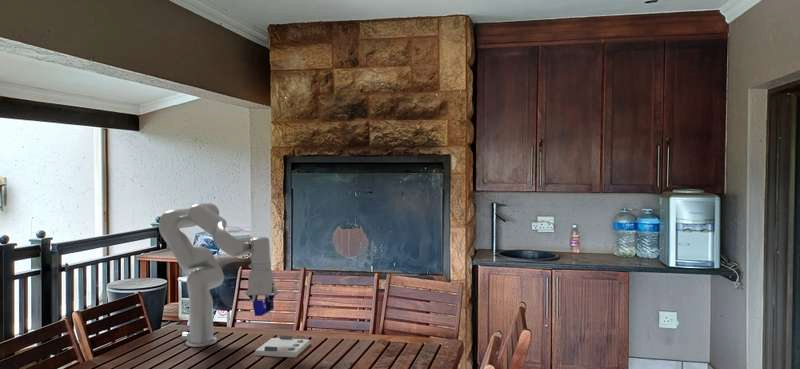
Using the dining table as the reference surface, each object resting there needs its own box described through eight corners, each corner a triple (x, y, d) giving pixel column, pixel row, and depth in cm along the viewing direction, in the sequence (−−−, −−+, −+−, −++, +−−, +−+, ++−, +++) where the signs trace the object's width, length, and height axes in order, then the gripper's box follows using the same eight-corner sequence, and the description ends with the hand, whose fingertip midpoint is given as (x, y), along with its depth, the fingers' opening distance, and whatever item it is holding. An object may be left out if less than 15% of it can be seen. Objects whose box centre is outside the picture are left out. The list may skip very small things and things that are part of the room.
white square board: (255, 355, 216) (255, 346, 216) (271, 342, 233) (271, 334, 233) (295, 357, 213) (295, 348, 213) (309, 344, 230) (309, 336, 230)
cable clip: (263, 308, 231) (263, 294, 231) (273, 308, 230) (273, 294, 230) (251, 315, 219) (250, 301, 219) (261, 315, 218) (261, 301, 218)
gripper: (237, 268, 222) (239, 313, 222) (276, 268, 219) (278, 313, 219) (245, 265, 229) (247, 308, 229) (283, 265, 226) (285, 308, 226)
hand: (262, 310), depth 224 cm, fingers closed on cable clip, 4 cm apart
